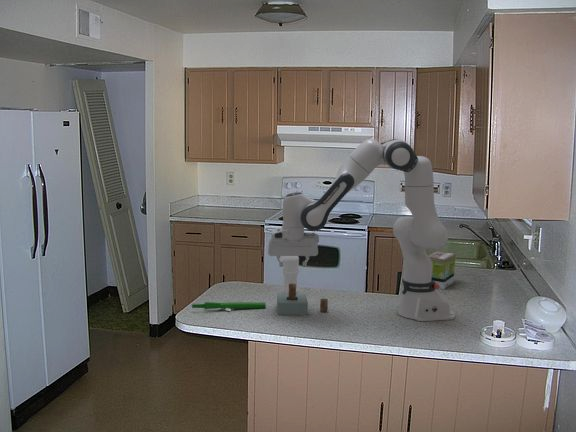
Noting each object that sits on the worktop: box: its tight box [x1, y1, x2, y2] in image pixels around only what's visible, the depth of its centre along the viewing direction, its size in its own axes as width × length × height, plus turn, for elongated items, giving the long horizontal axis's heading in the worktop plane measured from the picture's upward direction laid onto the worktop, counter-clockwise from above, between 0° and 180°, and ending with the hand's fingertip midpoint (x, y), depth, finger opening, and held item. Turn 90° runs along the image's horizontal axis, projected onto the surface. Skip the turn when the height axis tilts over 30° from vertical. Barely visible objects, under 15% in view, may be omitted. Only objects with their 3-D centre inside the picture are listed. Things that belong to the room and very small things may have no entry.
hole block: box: [276, 293, 309, 316], centre depth 247 cm, size 12×12×5 cm
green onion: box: [191, 301, 267, 312], centre depth 246 cm, size 5×3×30 cm
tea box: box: [427, 250, 456, 290], centre depth 288 cm, size 15×10×15 cm, turn 148°
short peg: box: [319, 297, 329, 313], centre depth 247 cm, size 3×3×5 cm
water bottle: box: [281, 256, 300, 294], centre depth 265 cm, size 7×7×25 cm
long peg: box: [289, 283, 296, 300], centre depth 247 cm, size 3×3×11 cm
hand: (292, 266), depth 245 cm, fingers open, 8 cm apart
